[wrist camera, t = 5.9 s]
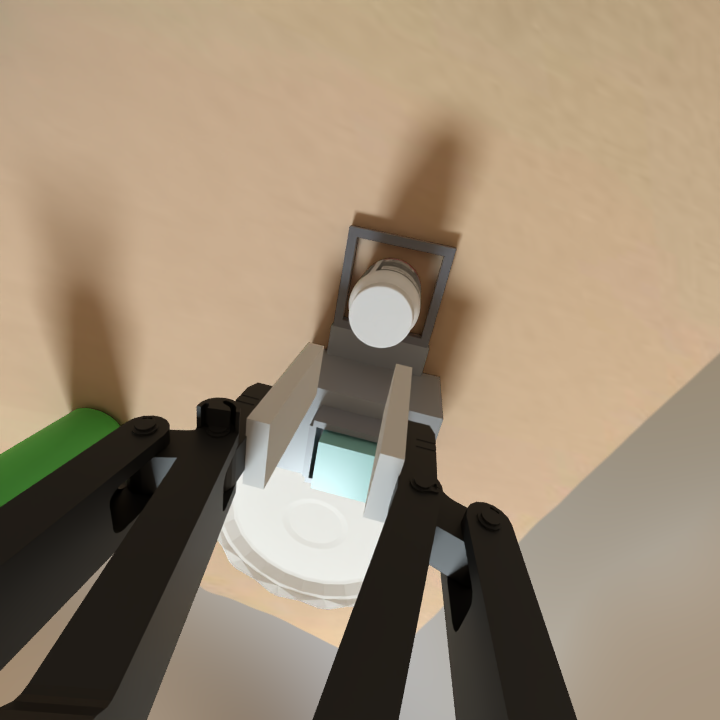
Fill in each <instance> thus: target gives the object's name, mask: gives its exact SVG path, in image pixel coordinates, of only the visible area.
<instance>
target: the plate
mask: <svg viewBox="0 0 720 720" xmlns="http://www.w3.org/2000/svg"><path fill="white" fill-rule="evenodd" d="M304 480H305V477H304V476H302V474H301V473H297V472H293V471H290V470H286V469H282V468H279V467H276V468H275V470H274V472H273V474H272V475H271V477H270V479H269V481H268V483H267V484H266V486H265V488H264V490H263V489H260V488H256V487H253V486H249V485H245V484H242V483H243V473H242V475H241V476H240V478H239V479H238V481H237V483H236V493H235V496H234V498H233V501H232V504H231V506H230V509H229V511H228V514H227V516H226V519H225V521H224V524H223V527H222V529H221V532H220V534H219V537H218V539H217V540H218V542H219V543H220V544H221V545H222V547H223V549H224V551H225V553H226V555H227V558H228V560H229V562H230V563H231V564H232V565H233V566H234V567H235V568H236V569H238V570H239V571H241V572H243V573H244V574H246V575H248V576H250V577H251V578H253V579H255V580H256V581H257V582H258V583H260V584H261V585H262V586H263V587H264V588H265V589H267V590H268V591H269V592H270V593H272V594H274V595H276V596H279V597H284V598H288V599H293V600H298V601H301V602H304V603H306V604H309V605H311V606H314V607H316V608H319V609H326V610H329V609H335V608H342V607H354V605H355V602H356V599H357V597H358V594H359V591H360V589H361V586H362V583H363V580H364V578H365V575H366V572H367V569H368V567H369V564H370V561H371V558H372V556H373V553H374V550H375V547H376V545H377V542H378V539H379V536H380V534H381V531H382V528H383V525H384V523H383V522H379V521H375V520H372V519H368V518H365V517H363V514H364V509H365V504H366V503H364V502H360V501H357V500H353V499H349V498H346V497H342V496H338V495H335V494H331V493H327V492H324V491H320V490H316V489H313V488H311V484H310V483H307V482H304Z"/></svg>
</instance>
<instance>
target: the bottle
mask: <svg viewBox="0 0 720 720" xmlns="http://www.w3.org/2000/svg"><path fill="white" fill-rule="evenodd" d="M119 427H120V425H119V423H117V422H116V421H115V420H114V419H113V418H112V417H111V416H109V415H107V414H105V413H104V412H101V411H98V410H94V409H90V408H77V409H76V410H74V411H72V412H71V413H69V414H67V415H66V416H64V417H62V418H61V419H59V420H57V421H55V422H54V423H52V424H50V425H49V426H47V427H45V428H44V429H42V430H40V431H39V432H37V433H35V434H34V435H32V436H30V437H29V438H27V439H25V440H24V441H22V442H20V443H18V444H17V445H15V446H13V447H12V448H10V449H8V450H7V451H5V452H3V453H2V454H0V507H1V506H2V505H4V504H5V503H7V502H8V501H10V500H11V499H13V498H14V497H16V496H17V495H19V494H20V493H22V492H23V491H25V490H26V489H28V488H29V487H31V486H32V485H34V484H35V483H37V482H38V481H40V480H41V479H43V478H44V477H46V476H47V475H49V474H50V473H52V472H53V471H55V470H56V469H58V468H59V467H61V466H62V465H63V464H65V463H66V462H68V461H69V460H71V459H72V458H74V457H75V456H77V455H78V454H80V453H81V452H83V451H84V450H86V449H87V448H89V447H90V446H92V445H93V444H95V443H96V442H98V441H99V440H101V439H102V438H104V437H105V436H107V435H108V434H110V433H111V432H113V431H114V430H116V429H117V428H119Z"/></svg>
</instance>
